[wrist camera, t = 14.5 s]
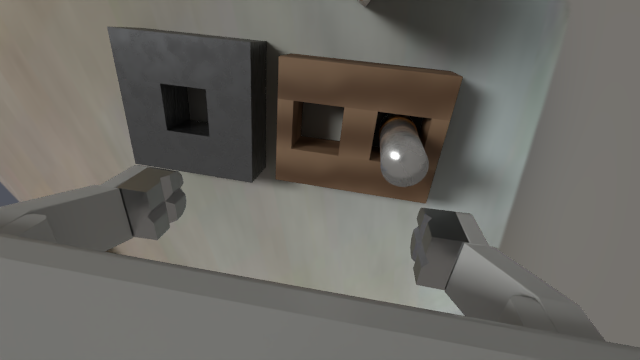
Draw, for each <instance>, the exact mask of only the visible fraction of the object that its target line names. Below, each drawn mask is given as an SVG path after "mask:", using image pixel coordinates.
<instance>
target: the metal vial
mask: <svg viewBox="0 0 640 360" xmlns="http://www.w3.org/2000/svg"><path fill="white" fill-rule="evenodd" d="M379 142H380V163H381V172H382V175H383V177H384V178H385V179H386V180H387V181H388V182H389V183H391V184H393V185H395V186H399V187H408V186H412V185H415V184H417V183H418V182H420V181H421V180H422V179H423V178H424V177H425V175H426V174H427V172H428V168H429V161H428V157H427V155H426V153H425V150H424V148H423V145H422V143H421V141H420V138H419V136H418V131H417V128H416V126H415V124H414V122H413V121H412V119H411V118H410V116H408V115H400V114H393V113H389V114H387V115H386V116H385V117H384V118H383V119H382V121H381V123H380V129H379Z"/></svg>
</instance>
